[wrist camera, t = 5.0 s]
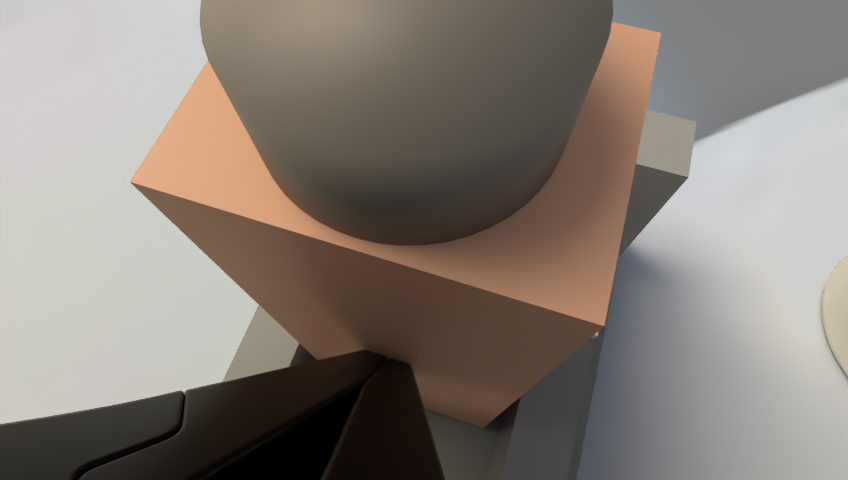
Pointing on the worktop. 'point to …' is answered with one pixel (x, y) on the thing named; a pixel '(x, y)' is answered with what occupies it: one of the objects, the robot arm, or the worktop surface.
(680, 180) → the socket track
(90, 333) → the worktop surface
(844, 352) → the beer glass
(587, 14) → the plug
